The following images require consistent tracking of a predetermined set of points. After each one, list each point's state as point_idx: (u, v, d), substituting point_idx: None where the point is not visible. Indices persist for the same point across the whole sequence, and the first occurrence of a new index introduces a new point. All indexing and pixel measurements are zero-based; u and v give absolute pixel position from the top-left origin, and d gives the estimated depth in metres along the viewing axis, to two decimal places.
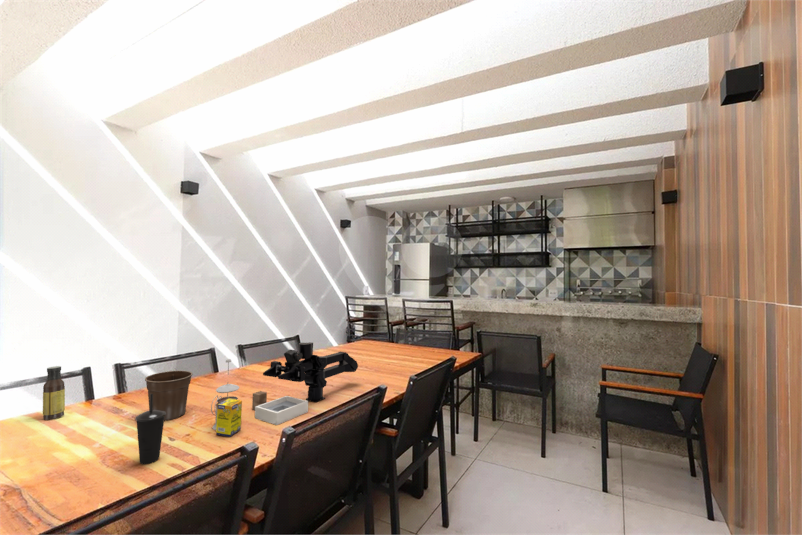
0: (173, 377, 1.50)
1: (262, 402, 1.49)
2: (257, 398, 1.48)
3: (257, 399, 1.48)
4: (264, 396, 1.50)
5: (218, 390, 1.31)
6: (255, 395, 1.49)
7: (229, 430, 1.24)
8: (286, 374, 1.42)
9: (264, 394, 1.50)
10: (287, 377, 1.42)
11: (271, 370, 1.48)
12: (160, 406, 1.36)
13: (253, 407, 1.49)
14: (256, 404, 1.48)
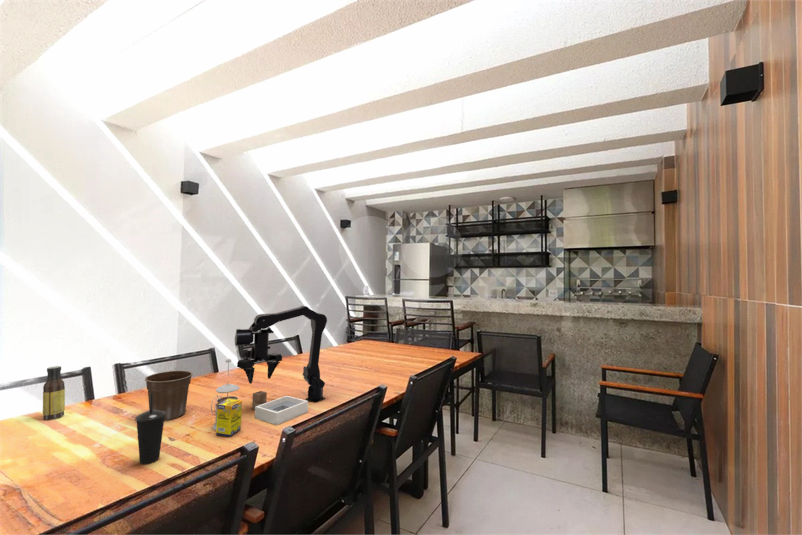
0: (173, 377, 1.50)
1: (262, 402, 1.49)
2: (257, 398, 1.48)
3: (257, 399, 1.48)
4: (264, 396, 1.50)
5: (218, 390, 1.31)
6: (255, 395, 1.49)
7: (229, 430, 1.24)
8: (247, 376, 1.46)
9: (264, 394, 1.50)
10: (249, 375, 1.45)
11: (268, 368, 1.55)
12: (160, 406, 1.36)
13: (253, 407, 1.49)
14: (256, 404, 1.48)
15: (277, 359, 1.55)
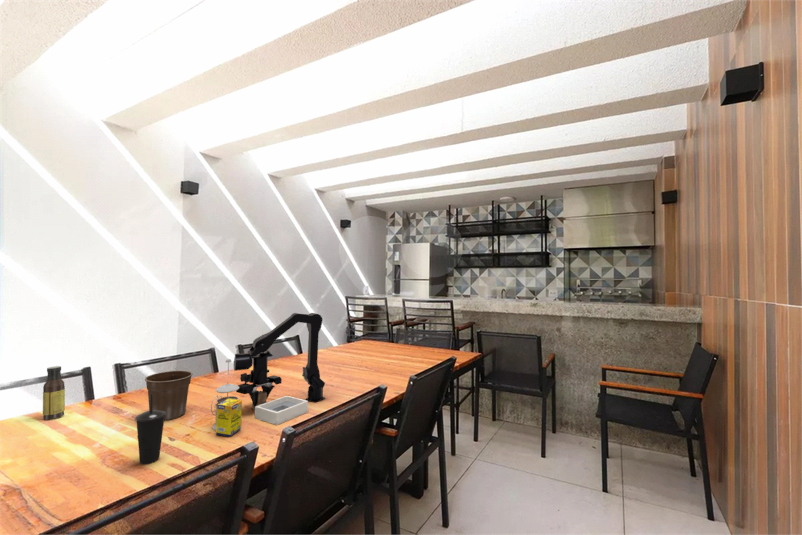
0: (173, 377, 1.50)
1: (262, 402, 1.49)
2: None
3: None
4: (264, 396, 1.50)
5: (218, 390, 1.31)
6: None
7: (229, 430, 1.24)
8: (252, 399, 1.48)
9: (264, 394, 1.50)
10: (253, 398, 1.47)
11: None
12: (160, 406, 1.36)
13: (253, 407, 1.49)
14: None
15: (276, 382, 1.54)
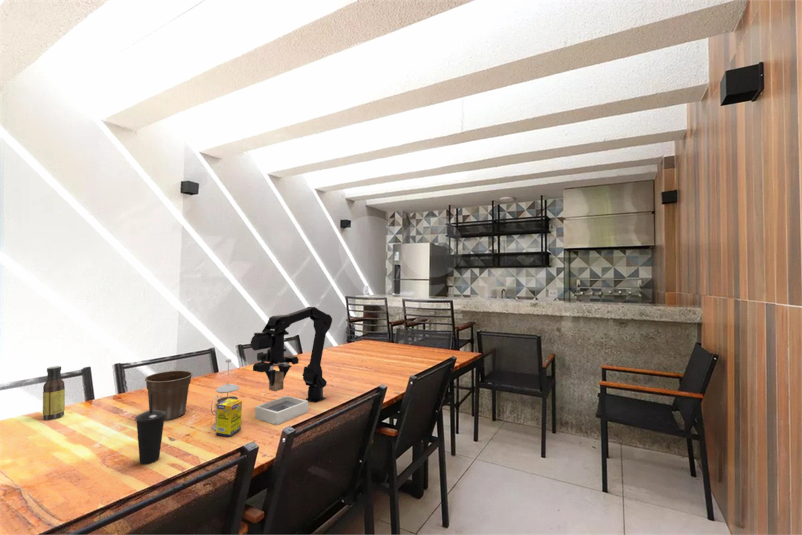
0: (173, 377, 1.50)
1: (279, 382, 1.45)
2: None
3: (274, 379, 1.44)
4: (281, 376, 1.46)
5: (218, 390, 1.31)
6: None
7: (229, 430, 1.24)
8: (269, 378, 1.44)
9: (281, 373, 1.46)
10: (270, 378, 1.43)
11: None
12: (160, 406, 1.36)
13: (270, 387, 1.45)
14: None
15: (293, 362, 1.50)
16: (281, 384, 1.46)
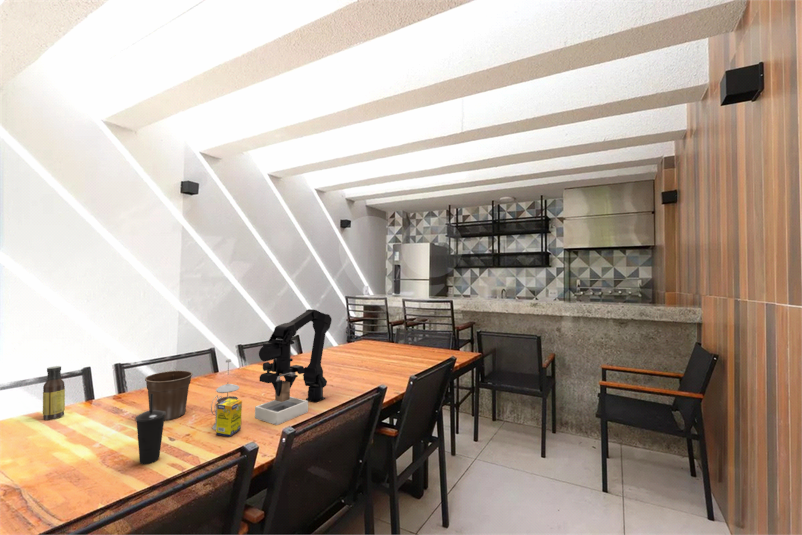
0: (173, 377, 1.50)
1: (285, 392, 1.44)
2: (281, 388, 1.42)
3: (281, 389, 1.42)
4: (287, 386, 1.44)
5: (218, 390, 1.31)
6: None
7: (229, 430, 1.24)
8: (275, 389, 1.42)
9: (287, 384, 1.45)
10: (277, 388, 1.42)
11: None
12: (160, 406, 1.36)
13: (276, 397, 1.44)
14: None
15: (299, 371, 1.49)
16: (288, 395, 1.45)
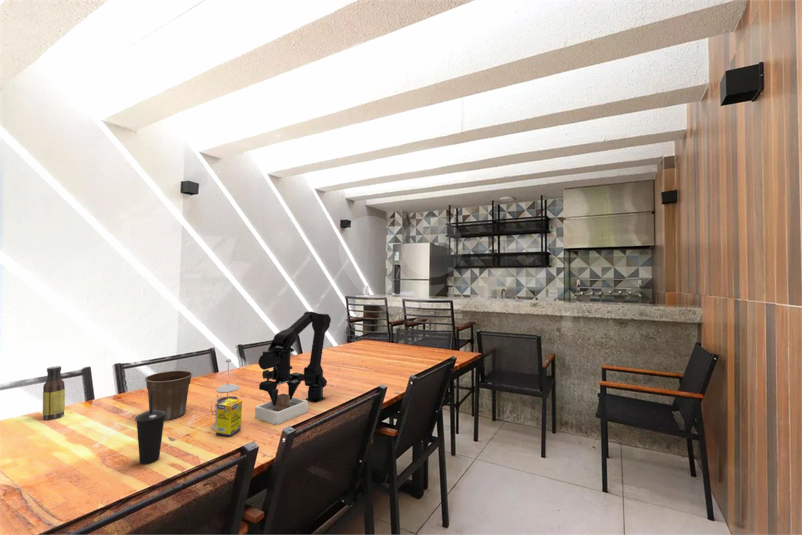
0: (173, 377, 1.50)
1: (285, 405, 1.43)
2: (280, 401, 1.42)
3: (281, 402, 1.42)
4: (287, 399, 1.44)
5: (218, 390, 1.31)
6: (278, 398, 1.43)
7: (229, 430, 1.24)
8: (271, 398, 1.41)
9: (287, 397, 1.44)
10: (273, 397, 1.40)
11: (289, 389, 1.48)
12: (160, 406, 1.36)
13: (276, 410, 1.43)
14: (279, 407, 1.42)
15: (299, 379, 1.49)
16: None
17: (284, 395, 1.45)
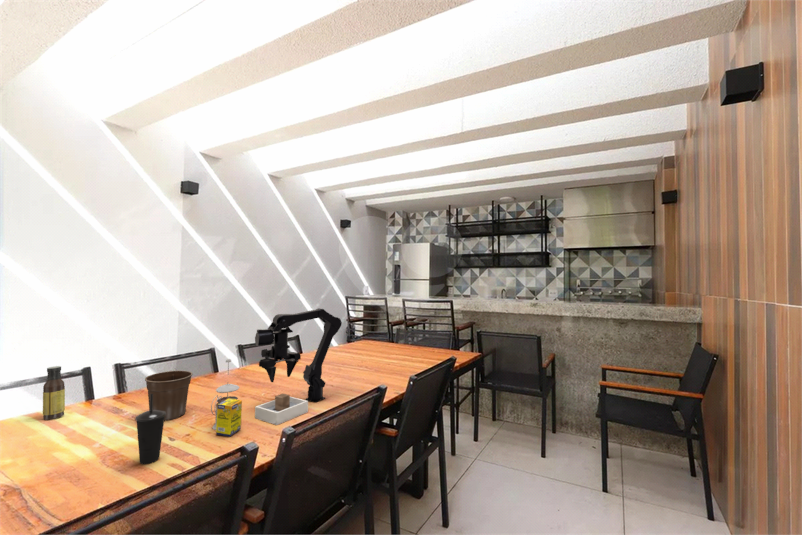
0: (173, 377, 1.50)
1: (285, 405, 1.43)
2: (280, 401, 1.42)
3: (281, 402, 1.42)
4: (287, 399, 1.44)
5: (218, 390, 1.31)
6: (278, 398, 1.43)
7: (229, 430, 1.24)
8: (269, 375, 1.49)
9: (287, 397, 1.44)
10: (271, 374, 1.48)
11: (288, 367, 1.58)
12: (160, 406, 1.36)
13: (276, 410, 1.43)
14: (279, 407, 1.42)
15: (296, 358, 1.58)
16: None
17: (284, 395, 1.45)
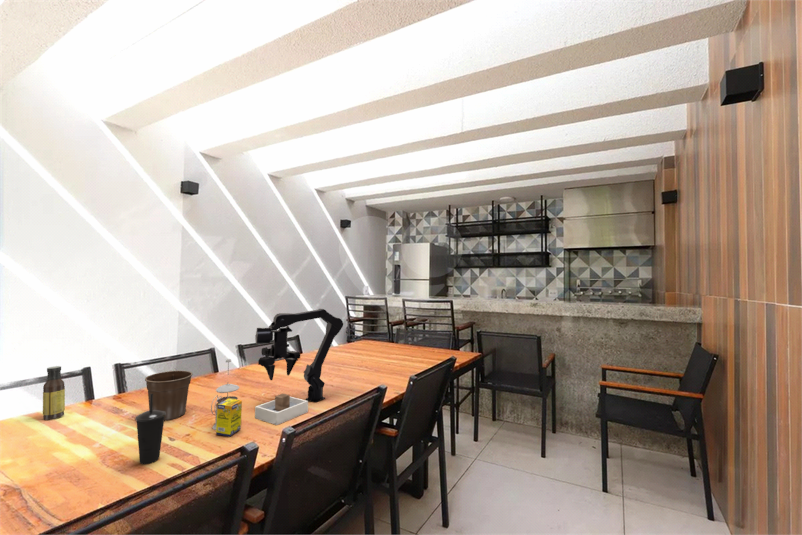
0: (173, 377, 1.50)
1: (285, 405, 1.43)
2: (280, 401, 1.42)
3: (281, 402, 1.42)
4: (287, 399, 1.44)
5: (218, 390, 1.31)
6: (278, 398, 1.43)
7: (229, 430, 1.24)
8: (268, 373, 1.51)
9: (287, 397, 1.44)
10: (270, 372, 1.51)
11: (287, 365, 1.60)
12: (160, 406, 1.36)
13: (276, 410, 1.43)
14: (279, 407, 1.42)
15: (296, 356, 1.60)
16: None
17: (284, 395, 1.45)
